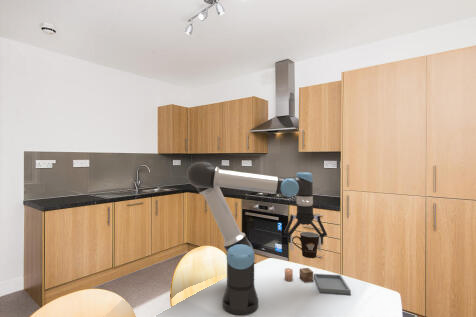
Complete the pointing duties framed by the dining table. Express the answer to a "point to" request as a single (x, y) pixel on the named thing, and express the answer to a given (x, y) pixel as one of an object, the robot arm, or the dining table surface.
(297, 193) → the robot arm
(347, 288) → the tray
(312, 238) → the coffee mug
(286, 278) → the terracotta cylinder
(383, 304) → the dining table surface
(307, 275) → the walnut block
